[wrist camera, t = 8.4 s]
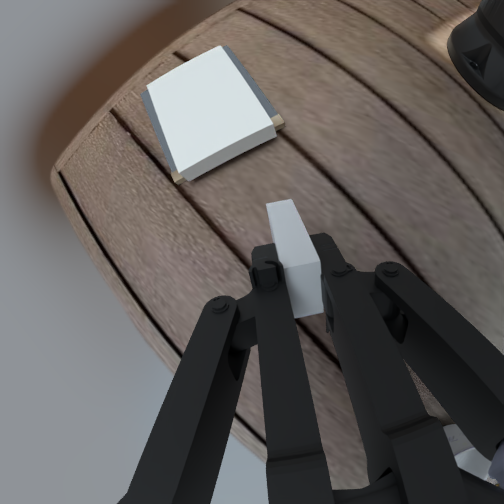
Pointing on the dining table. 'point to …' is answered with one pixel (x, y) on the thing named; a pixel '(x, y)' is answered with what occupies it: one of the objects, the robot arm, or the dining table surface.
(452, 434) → the teacup
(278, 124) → the oak strip
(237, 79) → the tile
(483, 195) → the dining table surface
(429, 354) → the robot arm
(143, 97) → the mat
